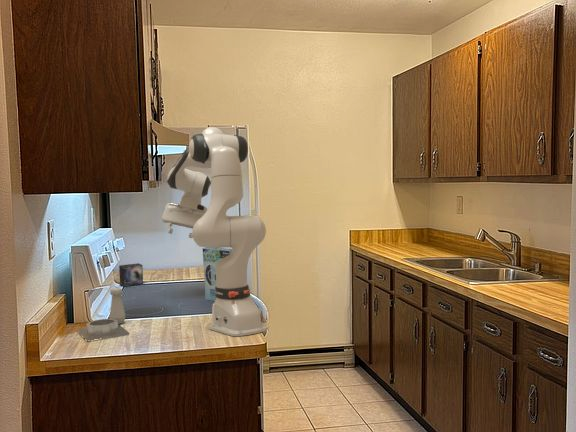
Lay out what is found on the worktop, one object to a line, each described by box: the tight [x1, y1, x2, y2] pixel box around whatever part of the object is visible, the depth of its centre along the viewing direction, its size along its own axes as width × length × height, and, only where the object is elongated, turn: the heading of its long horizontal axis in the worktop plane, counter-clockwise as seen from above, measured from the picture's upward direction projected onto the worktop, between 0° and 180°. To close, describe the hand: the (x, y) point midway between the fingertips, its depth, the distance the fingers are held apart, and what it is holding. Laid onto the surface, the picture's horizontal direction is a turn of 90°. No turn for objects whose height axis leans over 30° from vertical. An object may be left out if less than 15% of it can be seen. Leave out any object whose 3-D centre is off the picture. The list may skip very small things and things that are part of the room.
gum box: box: [201, 247, 233, 302], centre depth 237 cm, size 20×5×23 cm, turn 43°
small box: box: [118, 263, 144, 288], centre depth 285 cm, size 11×6×10 cm, turn 123°
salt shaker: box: [108, 287, 126, 325], centre depth 207 cm, size 6×6×13 cm
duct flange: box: [76, 318, 130, 341], centre depth 194 cm, size 16×14×4 cm
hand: (180, 235), depth 242 cm, fingers open, 8 cm apart
